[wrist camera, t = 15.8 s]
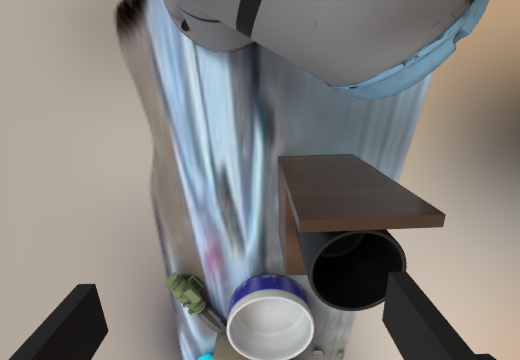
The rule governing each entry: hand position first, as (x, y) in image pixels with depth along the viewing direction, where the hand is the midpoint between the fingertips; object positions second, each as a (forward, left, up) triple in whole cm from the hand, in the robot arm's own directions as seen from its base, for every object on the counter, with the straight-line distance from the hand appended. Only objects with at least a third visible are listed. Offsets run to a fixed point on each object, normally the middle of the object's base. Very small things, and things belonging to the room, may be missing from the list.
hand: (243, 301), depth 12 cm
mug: (+9, +10, -21) cm, 25 cm away
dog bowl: (+31, +2, -32) cm, 44 cm away
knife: (+31, -13, -30) cm, 45 cm away
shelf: (+8, +10, -32) cm, 34 cm away
